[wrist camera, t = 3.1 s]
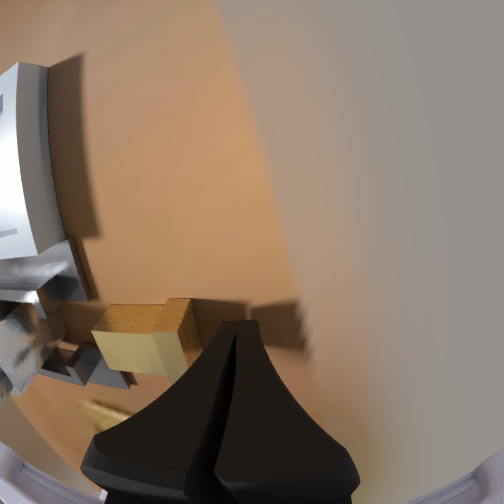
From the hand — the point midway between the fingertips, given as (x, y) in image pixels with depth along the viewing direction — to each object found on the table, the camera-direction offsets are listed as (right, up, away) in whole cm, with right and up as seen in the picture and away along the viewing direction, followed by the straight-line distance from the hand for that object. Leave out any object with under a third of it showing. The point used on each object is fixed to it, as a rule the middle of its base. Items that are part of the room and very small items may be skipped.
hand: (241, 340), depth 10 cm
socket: (-11, 0, +2) cm, 12 cm away
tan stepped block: (-4, 0, +1) cm, 4 cm away
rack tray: (-12, +7, -2) cm, 14 cm away
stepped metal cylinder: (-11, 0, +2) cm, 12 cm away
